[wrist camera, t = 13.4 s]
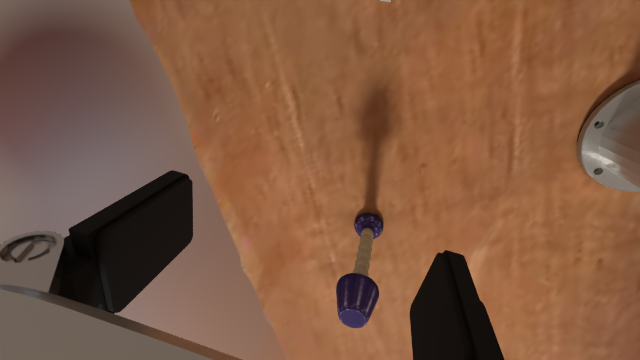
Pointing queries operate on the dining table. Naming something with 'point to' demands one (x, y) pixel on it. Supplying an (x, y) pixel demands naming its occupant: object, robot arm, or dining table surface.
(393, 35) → the dining table surface
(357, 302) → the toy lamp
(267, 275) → the dining table surface
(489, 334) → the robot arm
